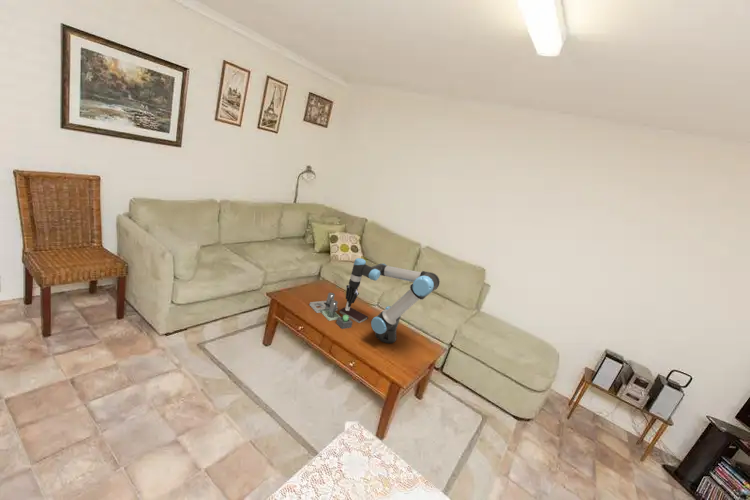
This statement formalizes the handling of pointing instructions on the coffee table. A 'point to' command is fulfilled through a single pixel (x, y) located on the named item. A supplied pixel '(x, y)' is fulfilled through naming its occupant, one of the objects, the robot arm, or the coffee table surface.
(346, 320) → the button
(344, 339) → the coffee table surface
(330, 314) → the billet
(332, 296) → the seated billet
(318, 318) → the coffee table surface
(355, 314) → the book
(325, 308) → the pallet
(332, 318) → the green plate
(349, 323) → the console
